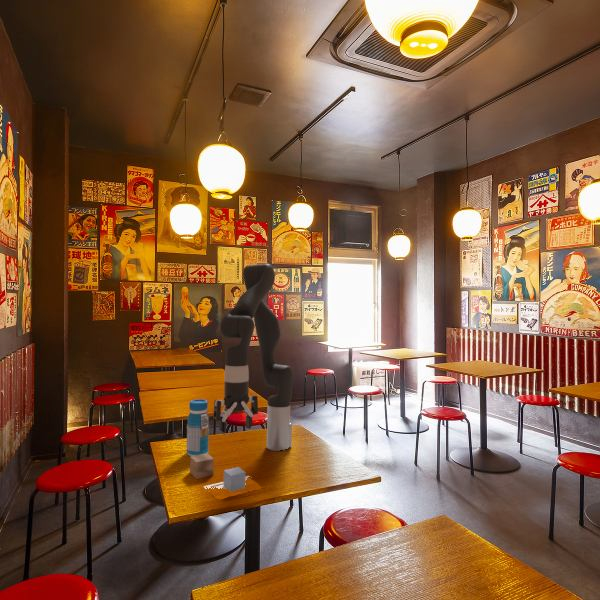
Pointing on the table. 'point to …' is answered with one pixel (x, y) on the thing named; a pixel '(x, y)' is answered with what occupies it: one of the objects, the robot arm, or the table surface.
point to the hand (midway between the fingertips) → (236, 430)
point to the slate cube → (234, 479)
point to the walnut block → (201, 465)
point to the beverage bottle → (197, 428)
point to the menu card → (220, 485)
